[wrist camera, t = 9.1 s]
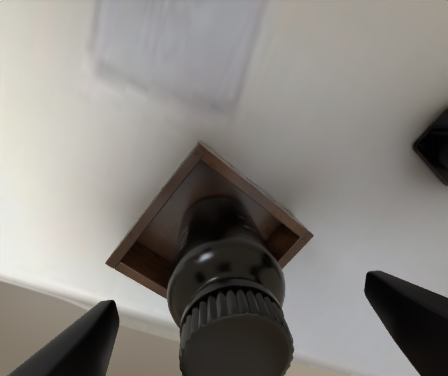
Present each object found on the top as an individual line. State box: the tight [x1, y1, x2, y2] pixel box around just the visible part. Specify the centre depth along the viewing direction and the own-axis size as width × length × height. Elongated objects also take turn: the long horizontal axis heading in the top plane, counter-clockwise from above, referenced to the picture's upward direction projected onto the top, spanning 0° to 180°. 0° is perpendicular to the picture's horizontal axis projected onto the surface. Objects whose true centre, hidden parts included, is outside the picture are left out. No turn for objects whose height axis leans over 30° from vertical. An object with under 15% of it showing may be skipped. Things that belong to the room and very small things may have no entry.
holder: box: [105, 140, 314, 299], centre depth 19 cm, size 12×12×4 cm
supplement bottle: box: [167, 197, 294, 376], centre depth 14 cm, size 7×7×12 cm
